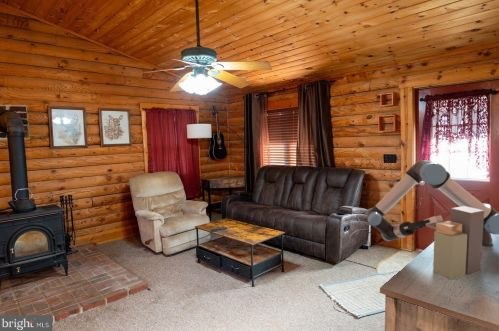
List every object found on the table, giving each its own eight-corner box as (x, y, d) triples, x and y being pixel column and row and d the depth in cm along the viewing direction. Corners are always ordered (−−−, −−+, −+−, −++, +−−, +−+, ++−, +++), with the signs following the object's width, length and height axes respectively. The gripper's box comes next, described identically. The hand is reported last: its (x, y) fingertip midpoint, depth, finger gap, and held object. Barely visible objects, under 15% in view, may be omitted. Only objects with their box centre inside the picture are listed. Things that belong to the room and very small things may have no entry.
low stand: (446, 267, 158) (448, 228, 156) (465, 275, 150) (467, 234, 147) (433, 270, 155) (434, 231, 153) (451, 279, 146) (453, 237, 144)
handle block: (431, 224, 164) (431, 216, 163) (462, 232, 149) (462, 224, 148) (420, 226, 161) (420, 219, 161) (449, 235, 146) (449, 226, 146)
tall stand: (461, 263, 162) (464, 205, 158) (480, 271, 153) (484, 210, 149) (448, 266, 159) (451, 208, 155) (467, 275, 150) (470, 212, 146)
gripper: (418, 234, 177) (453, 223, 157) (395, 238, 172) (429, 228, 151) (413, 220, 180) (447, 208, 159) (390, 224, 174) (422, 213, 154)
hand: (438, 218), depth 155 cm, fingers open, 3 cm apart
